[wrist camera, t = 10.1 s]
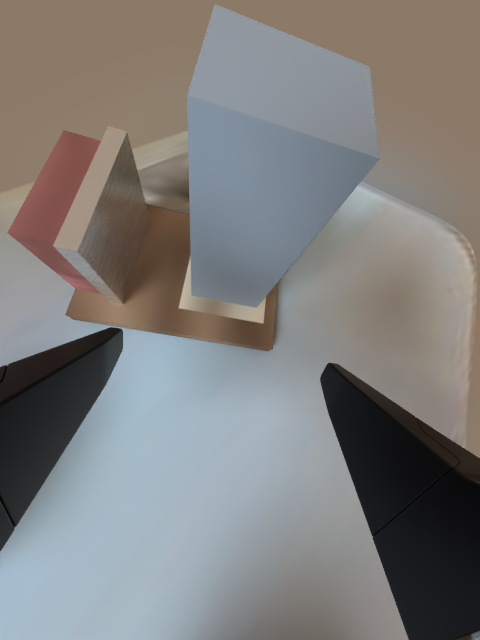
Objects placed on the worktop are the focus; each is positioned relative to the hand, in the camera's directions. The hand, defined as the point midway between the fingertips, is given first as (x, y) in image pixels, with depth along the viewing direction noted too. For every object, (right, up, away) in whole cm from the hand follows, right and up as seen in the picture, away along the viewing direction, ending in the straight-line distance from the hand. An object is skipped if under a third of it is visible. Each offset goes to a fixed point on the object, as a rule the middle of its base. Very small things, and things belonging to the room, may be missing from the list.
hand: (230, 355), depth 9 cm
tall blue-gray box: (-1, +5, +9) cm, 11 cm away
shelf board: (-4, +5, +10) cm, 12 cm away
